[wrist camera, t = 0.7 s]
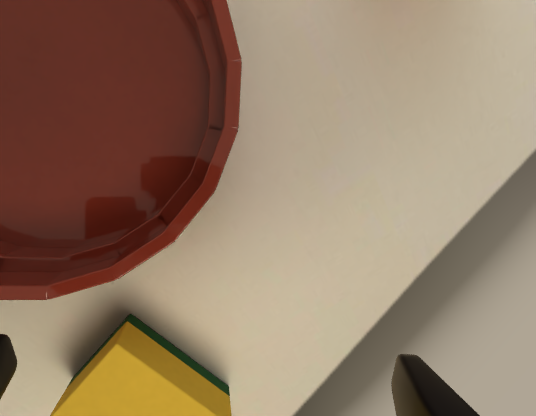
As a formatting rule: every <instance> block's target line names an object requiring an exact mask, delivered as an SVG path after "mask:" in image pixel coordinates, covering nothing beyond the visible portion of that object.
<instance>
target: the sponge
mask: <svg viewBox="0 0 536 416" xmlns="http://www.w3.org/2000/svg"><path fill="white" fill-rule="evenodd" d="M229 396H230V394H229V386H227V385H226V384H225V383H223V382H222V381H221V380H219V379H218V378H217V377H215V376H214V375H213V374H211V373H210V372H209V371H207V370H206V369H205V368H203V367H202V366H201V365H199V364H198V363H197V362H195V361H194V360H192V359H191V358H190V357H188V356H187V355H186V354H184V353H183V352H182V351H180V350H179V349H178V348H176V347H175V346H174V345H172V344H171V343H170V342H168V341H167V340H166V339H164V338H163V337H162V336H160V335H159V334H158V333H156V332H155V331H153V330H152V329H151V328H149V327H148V326H147V325H145V324H144V323H143V322H141V321H140V320H139V319H137V318H136V317H135V316H133V315H132V314H130V315H129V316H128V317H127V318H126V319H125V320H124V321H123V322H122V324H121V325H120V326H119V327H118V328H117V329H116V330H115V331H114V332H113V334H112V335H111V336H110V337H109V338H108V339H107V340H106V341H105V343H104V344H103V345H102V346H101V347H100V348H99V349H98V350H97V351H96V353H95V354H94V355H93V356H92V357H91V358H90V359H89V360H88V362H87V363H86V364H85V365H84V366H83V367H82V368H81V369H80V370H79V372H78V373H77V374H76V375H75V376H74V377H73V378H72V380H71V382H70V383H69V385H68V387H67V389H66V390H65V392H64V394H63V395H62V397H61V398H60V400H59V402H58V403H57V405H56V407H55V408H54V410H53V412H52V413H51V415H50V416H231V406H230V397H229Z"/></svg>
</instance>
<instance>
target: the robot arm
mask: <svg viewBox="0 0 536 416" xmlns="http://www.w3.org/2000/svg"><path fill="white" fill-rule="evenodd" d="M16 367H17V358H16V355H15V352H14V349H13V346H12V343H11V340H10V338H9V337H8V336H7V335H5V334H0V399H1V397H2V395H3V393H4V392H5V390H6V388H7V386H8V384H9V382H10V380H11V378H12V377H13V375H14V373H15V371H16ZM392 393H393V399H394V404H395V410H396V415H397V416H480V415H478V414H477V413H476V412H475V411H474V410H473V409H472V408H471V407H470V406H469V405H468V404H467V403H466V402H465V401H464V400H463V399H462V398H461V397H460V396H459V395H458V394H457V393H456V392H455V391H454V390H453V389H452V388H451V387H450V386H448V385H447V384H446V383H445V382H444V381H443V380H442V379H441V378H440V377H439V376H438V375H437V374H436V373H435V372H434V371H433V370H432V369H431V368H430V367H429V366H428V365H427V364H426V363H425V362H424V361H423V360H421V358H420V357H418V356H417V355H410V354H400V355H398V357H397V358H396V363H395V367H394V372H393V377H392Z"/></svg>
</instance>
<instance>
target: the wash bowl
mask: <svg viewBox="0 0 536 416" xmlns="http://www.w3.org/2000/svg"><path fill="white" fill-rule="evenodd" d="M241 67H242V62H241V55H240V51H239V48H238V44H237V40H236V36H235V32H234V28H233V24H232V20H231V16H230V12H229V8H228V4H227V0H0V300H47V299H53V298H56V297H60V296H63V295H67V294H70V293H73V292H77V291H80V290H84V289H87V288H91V287H94V286H97V285H101V284H104V283H108V282H111V281H115V280H116V279H119V278H121V277H122V276H124V275H125V274H127V273H128V272H130V271H131V270H133V269H134V268H136V267H137V266H139V265H140V264H142V263H143V262H145V261H146V260H148V259H150V258H151V257H153V256H154V255H156V254H157V253H159V252H160V251H162V250H163V249H165V248H166V247H168V246H169V245H171V244H172V243H173V242H175V240H176V239H177V238H178V237H179V235H180V234H181V233H182V232H183V230H184V229H185V228H186V227H187V226H188V224H189V223H190V222H191V221H192V219H193V218H194V217H195V216H196V214H197V213H198V212H199V211H200V209H201V208H202V207H203V206H204V204H205V203H206V202H207V201H208V199H209V198H210V197H211V196H212V195H213V193H214V191H215V190H216V187H217V185H218V182H219V179H220V177H221V174H222V172H223V169H224V166H225V164H226V161H227V158H228V156H229V153H230V150H231V148H232V145H233V142H234V140H235V137H236V135H237V132H238V127H239V107H240V87H241Z"/></svg>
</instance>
